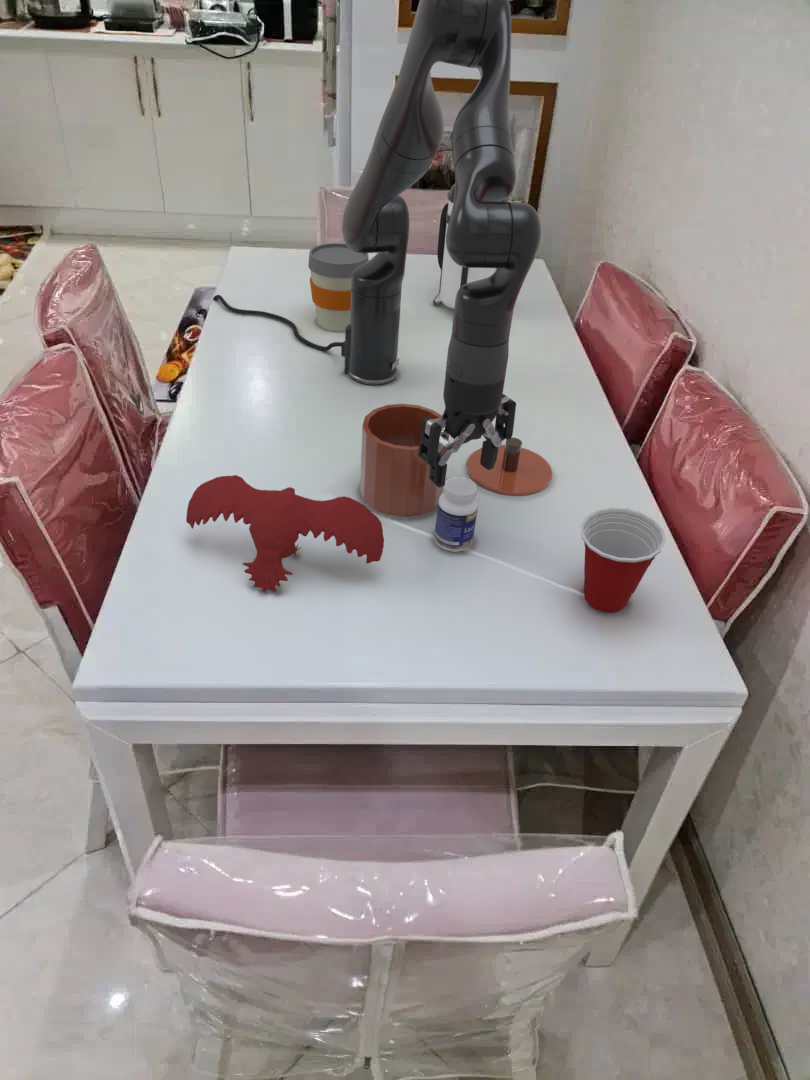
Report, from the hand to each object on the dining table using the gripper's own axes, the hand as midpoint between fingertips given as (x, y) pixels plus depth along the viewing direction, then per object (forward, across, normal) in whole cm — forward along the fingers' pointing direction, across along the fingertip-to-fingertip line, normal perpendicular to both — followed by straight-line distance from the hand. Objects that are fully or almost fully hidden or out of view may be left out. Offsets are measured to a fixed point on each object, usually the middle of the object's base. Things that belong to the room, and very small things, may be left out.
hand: (462, 475), depth 111 cm
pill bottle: (+12, 0, 0) cm, 12 cm away
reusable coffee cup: (+11, -24, -73) cm, 77 cm away
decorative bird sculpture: (+12, +24, -8) cm, 28 cm away
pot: (+12, 0, -14) cm, 18 cm away
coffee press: (+11, -53, -68) cm, 87 cm away
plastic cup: (+12, -10, +20) cm, 26 cm away
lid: (+11, -19, -10) cm, 24 cm away
